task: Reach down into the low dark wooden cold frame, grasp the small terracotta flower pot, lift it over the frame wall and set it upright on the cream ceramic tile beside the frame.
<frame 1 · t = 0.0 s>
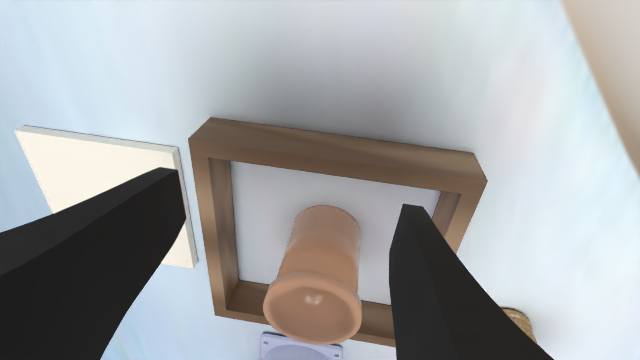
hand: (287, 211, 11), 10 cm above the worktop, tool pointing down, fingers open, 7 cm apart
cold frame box: (326, 232, 25), on the worktop
terracotta pot: (319, 268, 22), in the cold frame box
ceramic tile: (120, 200, 26), on the worktop
sprinkles bottle: (497, 321, 28), on the worktop
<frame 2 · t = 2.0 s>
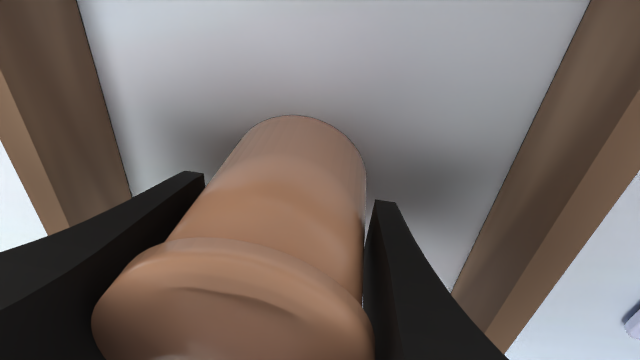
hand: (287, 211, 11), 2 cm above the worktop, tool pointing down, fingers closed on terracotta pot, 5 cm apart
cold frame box: (298, 179, 12), on the worktop
terracotta pot: (275, 245, 9), in the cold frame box, touching gripper
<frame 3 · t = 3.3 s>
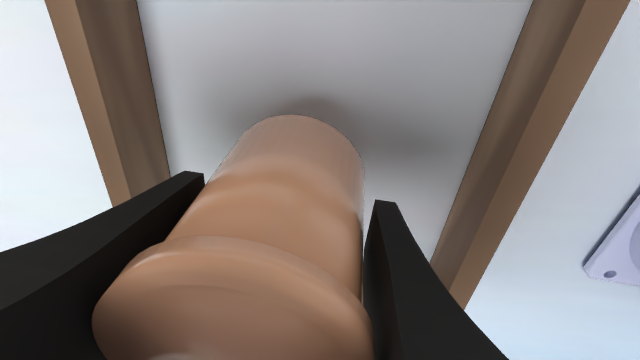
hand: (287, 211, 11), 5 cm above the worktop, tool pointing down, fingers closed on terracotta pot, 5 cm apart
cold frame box: (309, 141, 15), on the worktop
terracotta pot: (274, 244, 10), point 6 cm above the worktop, touching gripper
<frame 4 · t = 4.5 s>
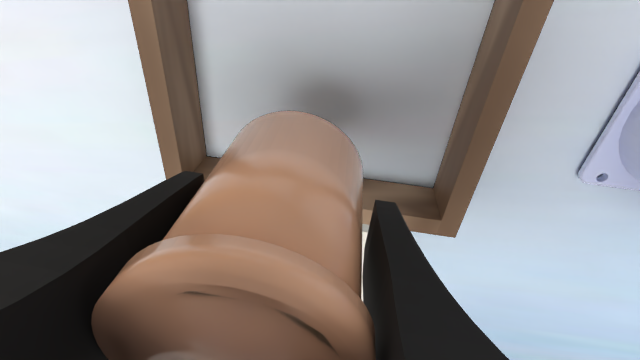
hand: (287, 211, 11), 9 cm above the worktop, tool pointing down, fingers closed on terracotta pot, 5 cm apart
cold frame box: (327, 52, 16), on the worktop
terracotta pot: (273, 241, 9), point 10 cm above the worktop, touching gripper
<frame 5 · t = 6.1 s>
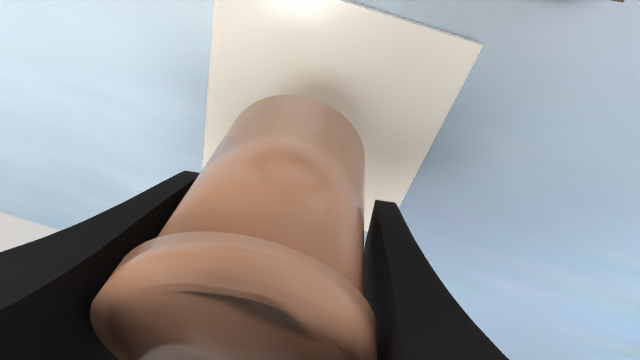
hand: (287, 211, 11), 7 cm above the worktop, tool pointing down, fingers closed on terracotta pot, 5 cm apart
terracotta pot: (273, 230, 9), point 9 cm above the worktop, touching gripper
ceramic tile: (319, 120, 17), on the worktop
when the fingers open (4 cm above the worktop, at t = 7.4 s): terracotta pot moves 1 cm, resting on ceramic tile.
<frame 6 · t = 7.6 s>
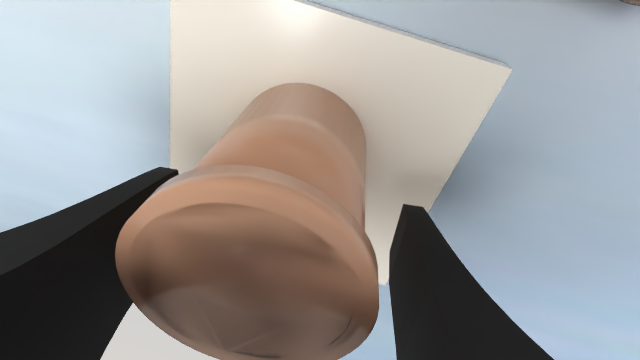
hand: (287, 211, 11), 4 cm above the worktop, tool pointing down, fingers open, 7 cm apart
terracotta pot: (281, 200, 10), on the ceramic tile, point 4 cm above the worktop
ceramic tile: (307, 153, 14), on the worktop
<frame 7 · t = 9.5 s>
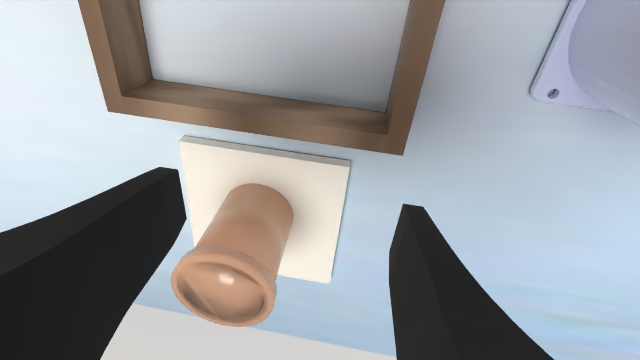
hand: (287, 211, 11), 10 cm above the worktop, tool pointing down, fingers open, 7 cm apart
terracotta pot: (243, 248, 21), on the ceramic tile, point 4 cm above the worktop
ceramic tile: (265, 213, 25), on the worktop
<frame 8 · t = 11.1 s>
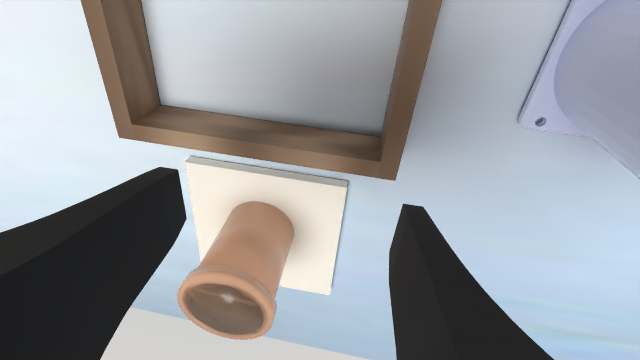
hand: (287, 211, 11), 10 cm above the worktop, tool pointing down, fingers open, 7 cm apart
terracotta pot: (245, 264, 22), on the ceramic tile, point 4 cm above the worktop
ceramic tile: (267, 228, 26), on the worktop
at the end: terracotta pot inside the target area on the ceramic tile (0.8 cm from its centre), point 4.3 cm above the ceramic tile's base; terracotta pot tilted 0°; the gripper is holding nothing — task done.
